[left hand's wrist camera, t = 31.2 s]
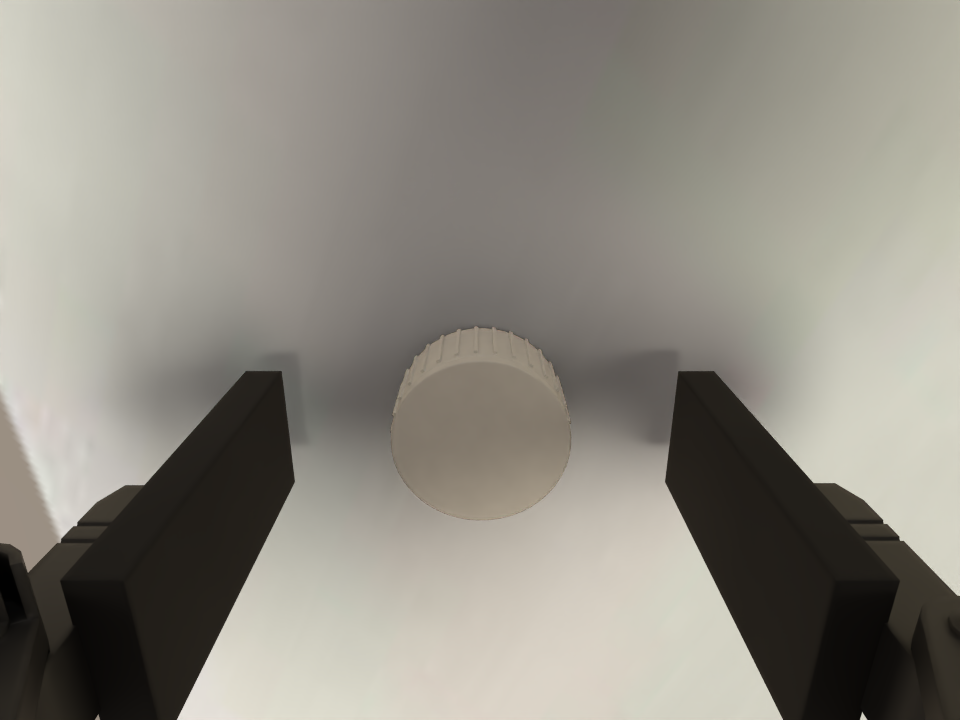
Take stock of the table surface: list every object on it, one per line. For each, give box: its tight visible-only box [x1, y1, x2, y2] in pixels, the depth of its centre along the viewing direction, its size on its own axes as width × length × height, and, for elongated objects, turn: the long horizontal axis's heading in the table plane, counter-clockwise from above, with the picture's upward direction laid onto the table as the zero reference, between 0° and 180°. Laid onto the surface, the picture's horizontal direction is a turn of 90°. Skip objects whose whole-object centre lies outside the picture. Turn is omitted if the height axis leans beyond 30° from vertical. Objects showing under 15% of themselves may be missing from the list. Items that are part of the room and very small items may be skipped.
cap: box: [390, 326, 571, 520], centre depth 15 cm, size 4×4×2 cm
